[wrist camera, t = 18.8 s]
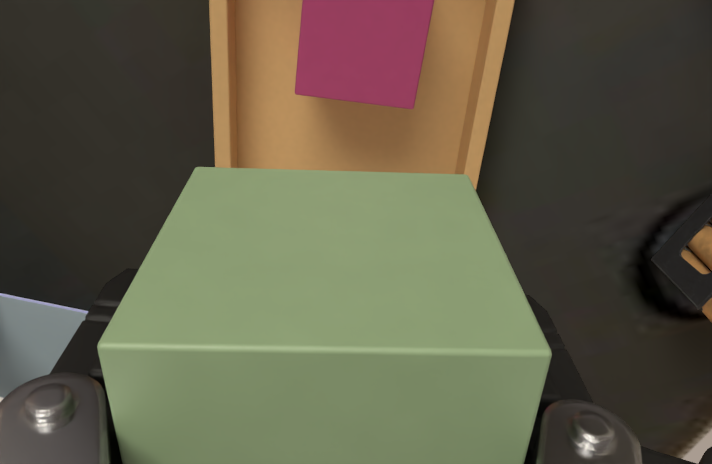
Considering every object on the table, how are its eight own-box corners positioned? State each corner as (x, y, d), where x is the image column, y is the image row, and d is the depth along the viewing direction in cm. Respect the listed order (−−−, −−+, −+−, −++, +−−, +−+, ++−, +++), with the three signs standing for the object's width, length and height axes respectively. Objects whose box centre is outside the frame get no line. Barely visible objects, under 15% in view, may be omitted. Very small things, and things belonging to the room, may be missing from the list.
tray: (216, -118, 25) (204, -119, 23) (516, -89, 26) (533, -87, 24) (227, 251, 34) (218, 276, 32) (448, 265, 35) (455, 290, 33)
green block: (194, 165, 11) (93, 346, 6) (469, 172, 11) (555, 352, 6) (215, 375, 13) (152, 610, 9) (439, 378, 13) (487, 610, 9)
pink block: (312, -49, 26) (305, -38, 22) (423, -32, 27) (438, -18, 22) (302, 64, 29) (294, 95, 24) (403, 78, 29) (413, 110, 25)
